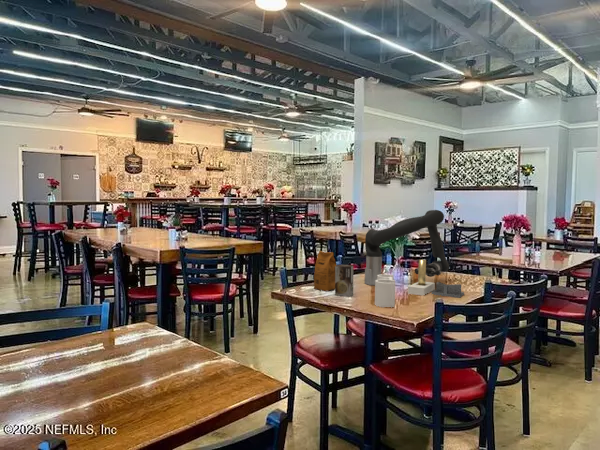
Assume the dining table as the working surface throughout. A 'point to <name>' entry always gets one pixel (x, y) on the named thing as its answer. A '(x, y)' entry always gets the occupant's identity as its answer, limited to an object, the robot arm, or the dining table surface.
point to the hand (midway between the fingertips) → (423, 273)
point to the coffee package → (325, 271)
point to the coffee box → (344, 280)
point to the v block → (448, 290)
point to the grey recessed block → (421, 288)
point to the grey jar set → (385, 291)
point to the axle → (422, 272)
